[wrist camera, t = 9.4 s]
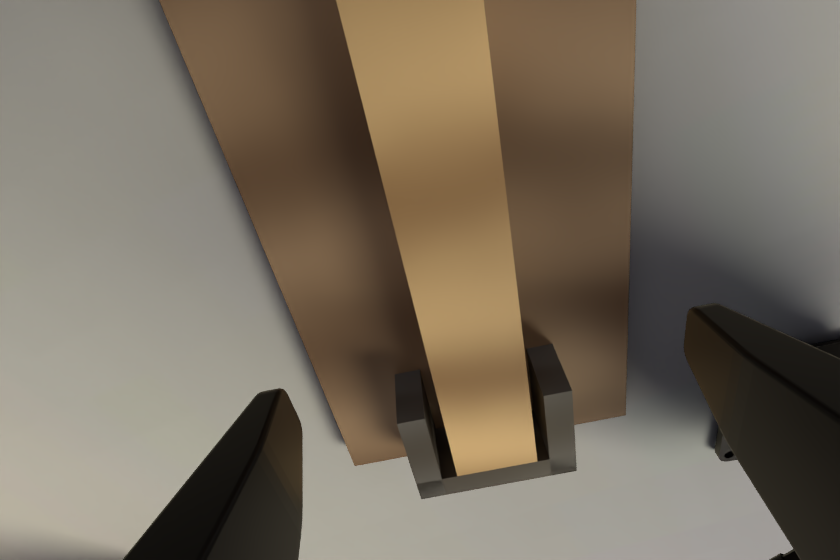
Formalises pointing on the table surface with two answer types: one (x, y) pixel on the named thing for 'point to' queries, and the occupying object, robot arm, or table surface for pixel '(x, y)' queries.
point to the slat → (449, 212)
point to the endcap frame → (373, 228)
